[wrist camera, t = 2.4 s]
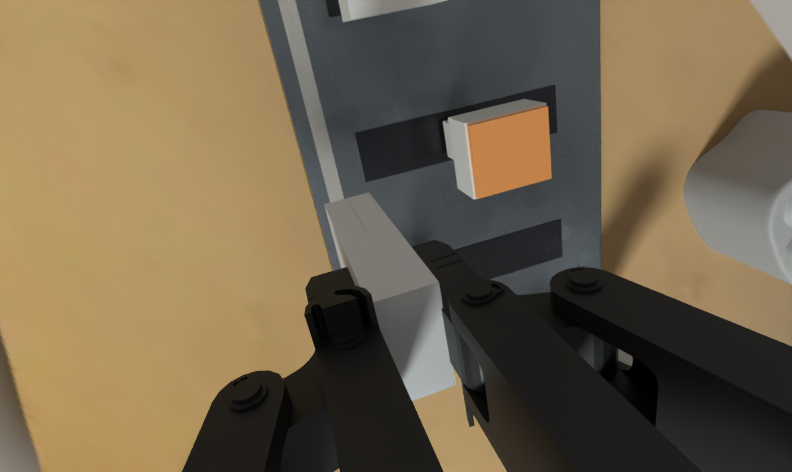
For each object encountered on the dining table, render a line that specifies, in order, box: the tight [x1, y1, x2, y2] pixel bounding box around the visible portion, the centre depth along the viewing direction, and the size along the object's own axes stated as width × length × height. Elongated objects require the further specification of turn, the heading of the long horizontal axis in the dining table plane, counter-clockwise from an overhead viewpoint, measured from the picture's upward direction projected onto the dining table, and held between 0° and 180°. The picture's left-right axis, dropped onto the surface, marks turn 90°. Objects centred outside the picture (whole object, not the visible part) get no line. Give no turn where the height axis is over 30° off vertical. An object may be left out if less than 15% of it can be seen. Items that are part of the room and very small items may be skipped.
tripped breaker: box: [443, 99, 552, 199], centre depth 24 cm, size 4×4×6 cm
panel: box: [258, 0, 601, 295], centre depth 28 cm, size 18×25×4 cm
